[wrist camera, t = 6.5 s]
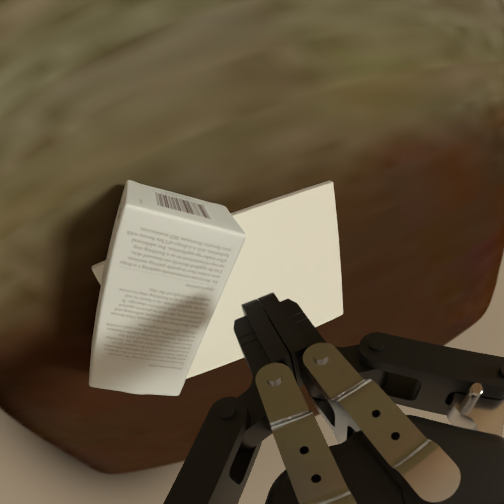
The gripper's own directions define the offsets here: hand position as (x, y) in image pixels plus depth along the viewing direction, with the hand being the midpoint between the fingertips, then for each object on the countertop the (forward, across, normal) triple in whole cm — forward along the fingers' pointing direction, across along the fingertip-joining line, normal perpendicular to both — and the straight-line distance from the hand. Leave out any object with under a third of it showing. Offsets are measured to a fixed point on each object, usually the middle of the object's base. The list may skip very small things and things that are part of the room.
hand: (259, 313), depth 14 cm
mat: (+7, 0, +4) cm, 8 cm away
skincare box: (+5, +1, -4) cm, 6 cm away
